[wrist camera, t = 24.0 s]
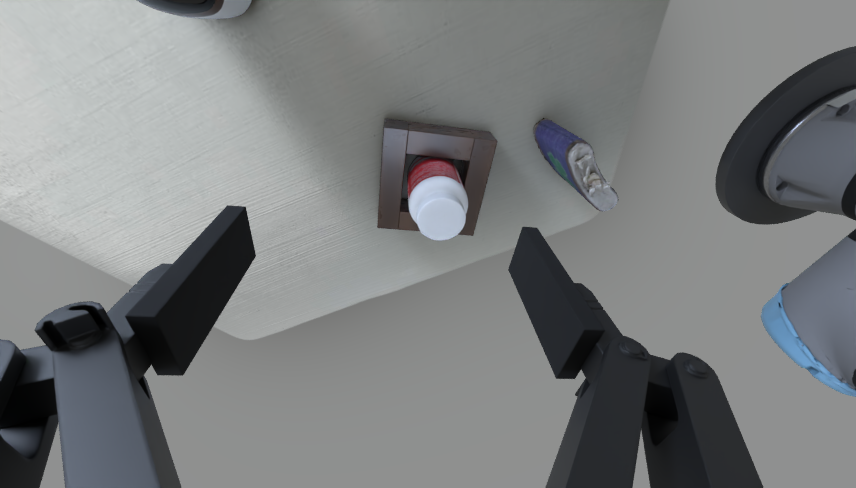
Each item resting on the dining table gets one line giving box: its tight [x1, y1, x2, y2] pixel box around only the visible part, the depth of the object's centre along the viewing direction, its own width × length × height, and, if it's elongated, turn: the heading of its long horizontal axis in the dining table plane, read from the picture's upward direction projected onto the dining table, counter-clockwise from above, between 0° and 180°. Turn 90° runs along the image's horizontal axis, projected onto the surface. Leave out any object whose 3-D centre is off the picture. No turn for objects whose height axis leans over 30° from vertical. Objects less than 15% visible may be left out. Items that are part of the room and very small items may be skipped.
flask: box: [534, 118, 619, 211], centre depth 35 cm, size 9×3×11 cm, turn 40°
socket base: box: [377, 119, 497, 236], centre depth 38 cm, size 12×12×4 cm
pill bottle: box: [407, 155, 468, 240], centre depth 35 cm, size 6×6×11 cm
